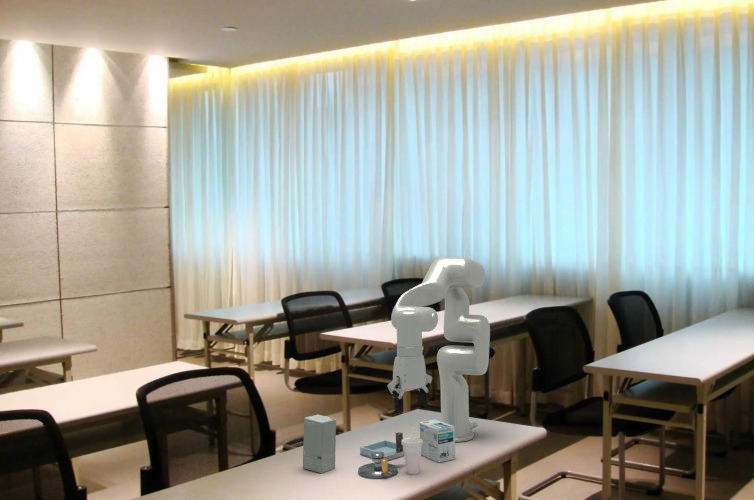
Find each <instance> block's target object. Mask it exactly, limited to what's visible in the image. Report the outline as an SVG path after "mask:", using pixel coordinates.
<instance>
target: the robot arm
mask: <svg viewBox="0 0 754 500" xmlns="http://www.w3.org/2000/svg"><path fill="white" fill-rule="evenodd" d="M485 280H486V270H485V268H484V266H483V265H482V264H481V263H480V262H478V261H476V260H473V259H471V258H467V257H438V258H436V259H434V261H432V263H431V265H430V266H429V269H428V270H427V272H426V274H425V276H424V278H423V280H422V282H421V283H420V284H417V285H416V286H414V287H412V288H410V289H409V290H407V291H406V292H404V293H403V294H401V295H400V297H398V299H397V301H396V303H395V305H394V307H393V309H392V312H391V317H390V321H391V325H392V327H393V328H394V329H396V356H395V358H394V361H393V367H392V368H393V369H392V380H391V381H390V382H389V383H388V384H387V388H388V391H389V394H390V395H391V396H392V398H393V400H394V402H393V403H394V411H395V412H398V413H403V412H404V399H403V398H402V397H403V396H404V393H405V392H409V391H415V390H418V392H417V405H418V406H420V407H428V399H427V398H428V396H427V395H428V393H429V389H430V388H431V383H432V381H433V376H431V375H430V374H427V368H426V362H425V357H424V354H423V350H424V346H423V333H425V332H427V333H428V332H431V331H433V330H434V329H435V328H436V327H437V325H438V323H439V315H438V313H437V310H435V309H434V308H433V307H429V306H431V305H433V304H436V303H439V302H441V301H442V300H443V299H444V314H443V336H444V338H445V339H446V340H447V341H449V342H455V343H457V342H458V343H473V346H470V345H469V346H467V345H466V346H465V345H445V346H443V347H441V348H440V349H439V350H438V352H437V354H436V362H437V366H438V373H439V382H440V414H441V415H440V416H441V417H440V419H441V420H440V421H441V422H444V423H446V424H450V425H453V426H454V428H455V443H459V442H467V441H471V440H472V439H474V437H475V435H474V434H475V433H474V432H473V431H472V429H474V428H477V427H478V426H479V423H478V422H477V421H473V422H470V411H469V410H470V408H469V407H470V406H469V403H470V402H469V398H470V397H469V385H468V383H467V380H466V378H465V377H464V376H463V375H465V376H466V375H470V376H482V375H484V374H486V373H487V371H488V368H489V367H488V366H489V361H490V360H489V357H490V356H489V355H490V338H491V326H490V323H489V319H488V318H487V317H486V316H485V315H482V314H471V313H470V299H469V297H468V295H467V292H465V290H464V289H463V288H465V289H466V288H467V289H468V288H469V289H471V288H472V289H474V288H475V289H476V288H477V289H478V288H480V287H482V286H483V284H484V282H485Z"/></svg>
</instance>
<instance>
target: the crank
mask: <svg viewBox="0 0 754 500" xmlns="http://www.w3.org/2000/svg"><path fill="white" fill-rule="evenodd" d="M403 439H404V434H403V432H402V431H401V432H395V443H396V451H392V452H389V453H386V454H384V453H383V452H372V453H371V458H370V459H372V463H374V462H376V463H380V462H381V459H387V460H389V461H391V460H390V459H393V458H396V457H399V458H401V457H400V456H403V455H404V451H403V445H402V440H403ZM403 457H404V456H403ZM396 459H397V458H396ZM393 460H394V459H393Z"/></svg>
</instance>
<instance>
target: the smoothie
mask: <svg viewBox="0 0 754 500" xmlns="http://www.w3.org/2000/svg"><path fill="white" fill-rule="evenodd" d="M415 428H416V427H415V425H412V436H411V437H405V438H403V440H402V445H403V450H404V456H403V457H404V461H405V462H404V463H405V469H406V474H408V475H417V474H419V473H420V467H421V458H422V457H421V456H422V455H421V447H422V444H423V440H422V439H420V437H416V435H415V434H416V432H415Z"/></svg>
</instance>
